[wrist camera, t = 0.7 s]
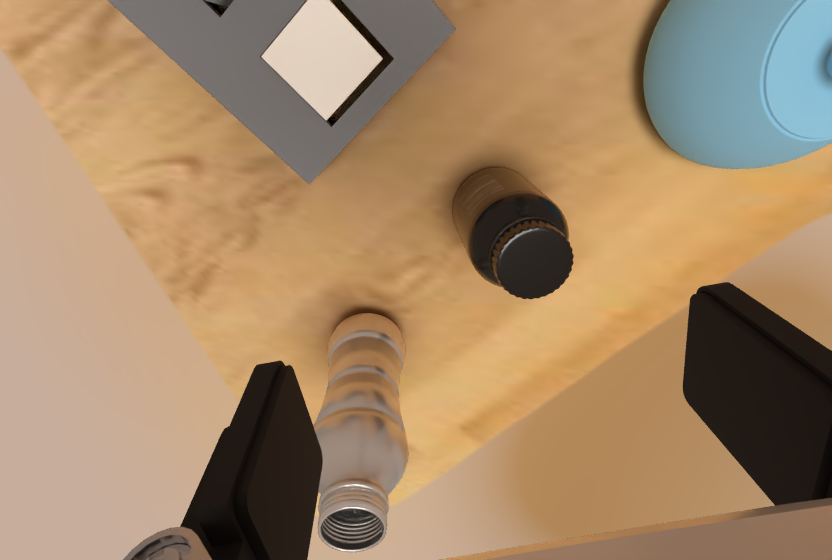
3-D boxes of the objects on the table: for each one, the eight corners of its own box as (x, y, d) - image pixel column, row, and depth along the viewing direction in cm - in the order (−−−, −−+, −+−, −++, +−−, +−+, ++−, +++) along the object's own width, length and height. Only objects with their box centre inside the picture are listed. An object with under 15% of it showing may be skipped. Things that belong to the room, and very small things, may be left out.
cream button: (327, -4, 31) (317, -13, 27) (383, 58, 32) (382, 58, 28) (276, 56, 32) (261, 56, 28) (333, 113, 34) (326, 120, 30)
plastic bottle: (405, 362, 45) (417, 565, 27) (333, 366, 45) (296, 573, 27) (403, 302, 43) (414, 482, 24) (326, 305, 42) (280, 490, 24)
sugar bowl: (872, 41, 36) (1075, 34, 25) (710, 197, 40) (824, 247, 30) (758, -120, 31) (947, -210, 21) (589, 76, 36) (674, 83, 25)
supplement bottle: (456, 252, 41) (481, 322, 30) (446, 173, 38) (470, 219, 27) (536, 239, 41) (590, 305, 30) (532, 158, 38) (590, 199, 27)
